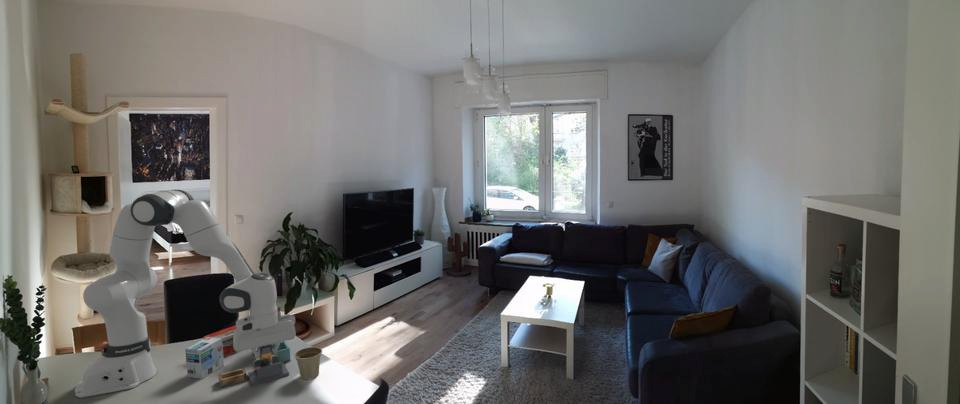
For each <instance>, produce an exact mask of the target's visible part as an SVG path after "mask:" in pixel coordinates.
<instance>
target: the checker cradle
mask: <svg viewBox="0 0 960 404" xmlns="http://www.w3.org/2000/svg"><path fill="white" fill-rule="evenodd" d="M247 376H248V378H249V380H250V383H251V385H252V386H255V385H258V384H263V383H266V382H270V381H273V380H276V379H279V378H283V377H288V376H290V372H289V370H288V369H287V367H286V365H285V362H284V363H282V362H278V355H273V364H271V365H267V366H263V367H261V365H260V358H259V359H255V360H253V370H251V371H247Z"/></svg>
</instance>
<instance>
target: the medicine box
mask: <svg viewBox="0 0 960 404" xmlns="http://www.w3.org/2000/svg"><path fill="white" fill-rule="evenodd" d="M236 328H237V327H236V324H235V325H232V326H230V327H226V328H224V329H221V330H218V331H215V332H212V333H209V334H207V335H205V336H204V335H203V338H202V340H203V339H205V338H207V337H211V338H221V339H222V345H223V358H224V357H226V356H229V355H231V354H234V353H237V351H235V350H234V348H233V336H234V331H235V330H236Z"/></svg>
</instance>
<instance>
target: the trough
mask: <svg viewBox="0 0 960 404" xmlns="http://www.w3.org/2000/svg"><path fill="white" fill-rule="evenodd" d="M247 376H248V375H247V371H246V369H245V367H243V368H240V369H236V370H231V371H228V372H224V373H219V374H218V381H219V385H220V388H224V387H227V386H231V385H234V384H239V383H242V382H245V381H247V380H248V377H247Z"/></svg>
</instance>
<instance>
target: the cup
mask: <svg viewBox="0 0 960 404" xmlns="http://www.w3.org/2000/svg"><path fill="white" fill-rule="evenodd" d="M274 347H275V343H274V344H272V349H274ZM275 355H278V362H282V363H284V364H285V363H288V362H291V349H290V346H289V345H288V344H287V341H283V342H280V345H279V347H278V349H277V354H275Z"/></svg>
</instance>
